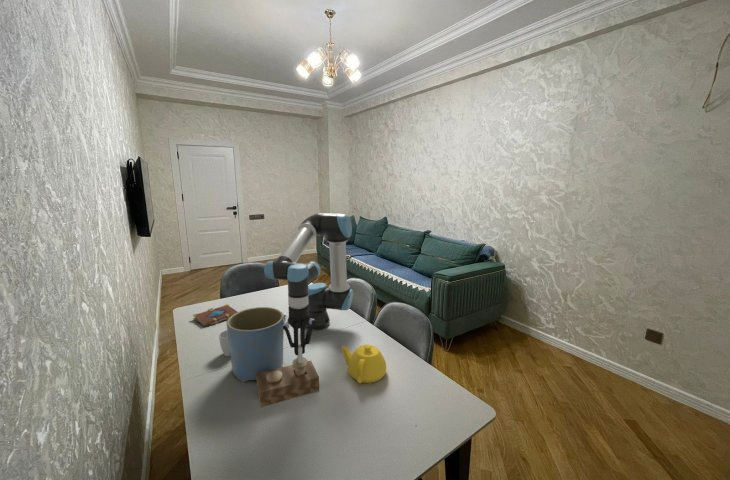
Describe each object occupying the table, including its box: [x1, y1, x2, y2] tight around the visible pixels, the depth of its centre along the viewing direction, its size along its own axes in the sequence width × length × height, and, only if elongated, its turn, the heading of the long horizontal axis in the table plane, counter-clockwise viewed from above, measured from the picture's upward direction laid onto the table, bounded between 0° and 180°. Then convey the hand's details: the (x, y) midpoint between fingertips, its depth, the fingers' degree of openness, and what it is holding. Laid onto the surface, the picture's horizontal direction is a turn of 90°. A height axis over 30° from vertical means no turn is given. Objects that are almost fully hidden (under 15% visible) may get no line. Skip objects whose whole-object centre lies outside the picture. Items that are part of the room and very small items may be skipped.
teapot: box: [341, 344, 387, 384], centre depth 130 cm, size 20×19×13 cm
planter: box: [226, 306, 285, 383], centre depth 131 cm, size 23×23×24 cm
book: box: [192, 303, 238, 328], centre depth 181 cm, size 16×25×5 cm, turn 140°
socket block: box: [256, 360, 320, 408], centre depth 120 cm, size 22×12×6 cm, turn 115°
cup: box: [218, 329, 231, 357], centre depth 143 cm, size 8×8×10 cm
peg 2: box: [292, 356, 308, 377], centre depth 121 cm, size 6×6×7 cm
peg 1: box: [266, 371, 282, 384], centre depth 118 cm, size 6×6×7 cm
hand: (299, 361), depth 120 cm, fingers closed
